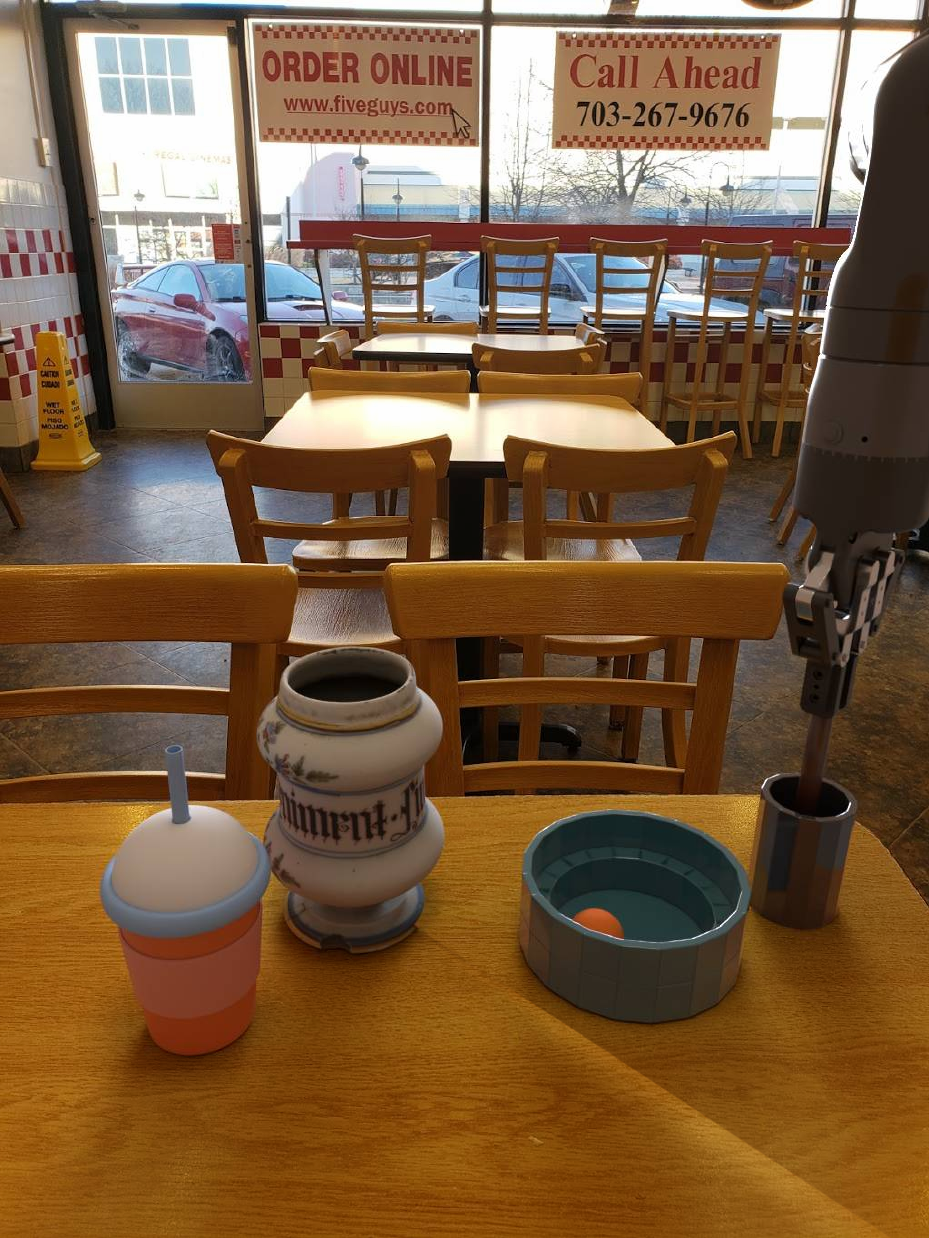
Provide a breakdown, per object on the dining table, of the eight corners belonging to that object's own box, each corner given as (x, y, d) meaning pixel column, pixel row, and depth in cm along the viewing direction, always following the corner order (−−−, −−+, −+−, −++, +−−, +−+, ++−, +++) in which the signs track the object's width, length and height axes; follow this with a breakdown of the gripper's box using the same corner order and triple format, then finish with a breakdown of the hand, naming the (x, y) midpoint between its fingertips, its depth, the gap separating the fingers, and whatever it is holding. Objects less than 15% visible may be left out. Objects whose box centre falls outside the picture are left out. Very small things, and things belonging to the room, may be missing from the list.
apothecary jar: (247, 961, 60) (225, 709, 53) (291, 850, 71) (277, 630, 65) (435, 972, 59) (437, 719, 53) (450, 858, 71) (452, 637, 64)
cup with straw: (305, 978, 59) (291, 722, 52) (234, 1095, 51) (206, 809, 44) (176, 950, 61) (146, 700, 54) (88, 1057, 53) (41, 779, 46)
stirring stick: (783, 857, 66) (821, 628, 60) (816, 871, 65) (859, 638, 58) (774, 865, 65) (812, 634, 59) (807, 880, 64) (850, 644, 57)
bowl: (599, 855, 71) (605, 787, 69) (776, 944, 62) (789, 869, 60) (474, 949, 61) (476, 873, 59) (663, 1070, 53) (673, 986, 50)
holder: (768, 868, 70) (785, 763, 67) (849, 905, 66) (872, 795, 63) (729, 906, 66) (745, 796, 63) (814, 948, 62) (836, 832, 59)
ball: (568, 938, 57) (583, 988, 58) (623, 918, 57) (638, 968, 58) (553, 909, 60) (568, 956, 61) (606, 890, 61) (619, 937, 61)
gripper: (895, 466, 47) (839, 768, 53) (976, 433, 56) (920, 693, 63) (756, 445, 52) (719, 725, 58) (852, 418, 61) (812, 661, 67)
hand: (824, 707), depth 60 cm, fingers closed on stirring stick, 1 cm apart
